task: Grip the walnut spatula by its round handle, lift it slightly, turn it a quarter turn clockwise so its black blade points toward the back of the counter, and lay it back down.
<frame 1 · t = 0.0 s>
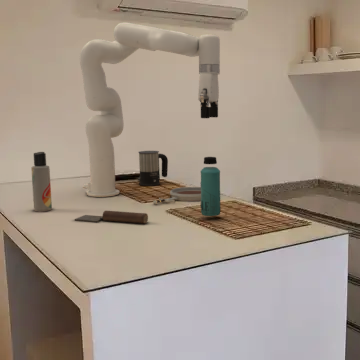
hand: (209, 117, 181), 31 cm above the countertop, tool pointing down, fingers open, 9 cm apart
milk frother: (147, 183, 225), on the countertop
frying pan: (181, 199, 189), on the countertop
beverage bottle: (210, 219, 159), on the countertop
lotion bottle: (43, 210, 169), on the countertop
spatula: (91, 219, 157), on the countertop
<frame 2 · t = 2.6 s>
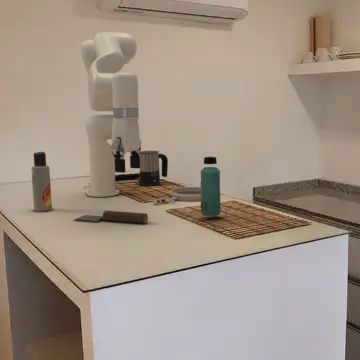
hand: (127, 170, 152), 16 cm above the countertop, tool pointing down, fingers open, 9 cm apart
nothing on the countertop moved.
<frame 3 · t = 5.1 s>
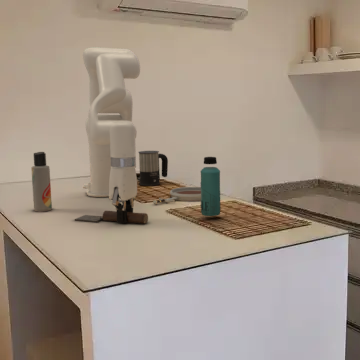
hand: (125, 220, 154), 0 cm above the countertop, tool pointing down, fingers closed on spatula, 3 cm apart
spatula: (91, 219, 157), on the countertop, touching gripper
everything else where it was.
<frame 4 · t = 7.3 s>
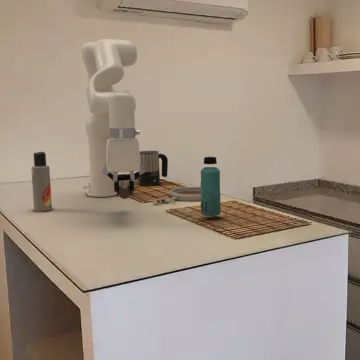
hand: (124, 193, 152), 9 cm above the countertop, tool pointing down, fingers closed on spatula, 3 cm apart
spatula: (123, 187, 164), point 9 cm above the countertop, touching gripper
everything else where it was.
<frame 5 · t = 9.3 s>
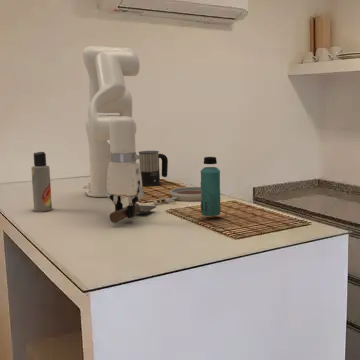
hand: (125, 216, 153), 2 cm above the countertop, tool pointing down, fingers closed on spatula, 3 cm apart
spatula: (142, 209, 165), point 1 cm above the countertop, touching gripper
everything else where it was.
when the fingers open (0 cm above the countertop, at t = 10.0 s): spatula stays where it is, on the countertop.
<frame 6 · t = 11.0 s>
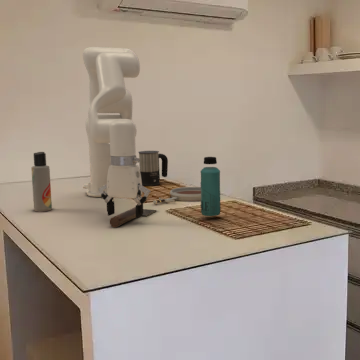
hand: (125, 215, 153), 2 cm above the countertop, tool pointing down, fingers open, 9 cm apart
spatula: (142, 213, 165), on the countertop
everything else where it was.
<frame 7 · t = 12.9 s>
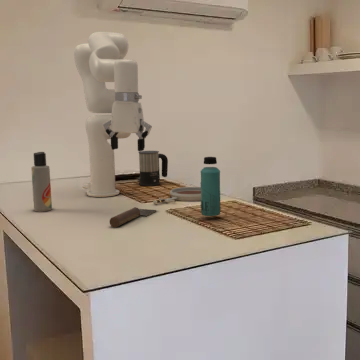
hand: (127, 149, 165), 21 cm above the countertop, tool pointing down, fingers open, 9 cm apart
nothing on the countertop moved.
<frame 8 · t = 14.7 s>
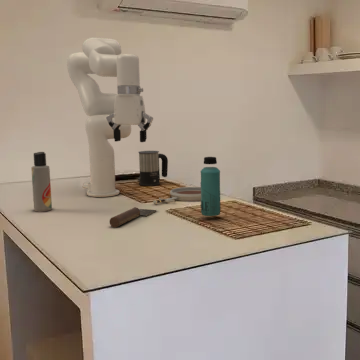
hand: (130, 141, 171), 23 cm above the countertop, tool pointing down, fingers open, 9 cm apart
nothing on the countertop moved.
at the end: spatula inside the target area (0.1 cm from its centre), on the countertop; spatula tilted 0°; the gripper is holding nothing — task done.
